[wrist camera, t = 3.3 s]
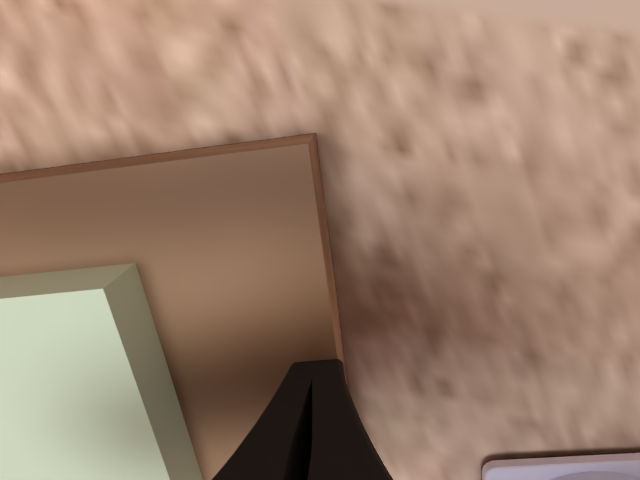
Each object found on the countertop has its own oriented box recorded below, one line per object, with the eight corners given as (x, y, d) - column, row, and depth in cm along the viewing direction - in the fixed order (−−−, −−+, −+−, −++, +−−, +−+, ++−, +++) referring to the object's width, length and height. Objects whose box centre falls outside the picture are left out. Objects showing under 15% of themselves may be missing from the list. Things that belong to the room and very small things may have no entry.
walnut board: (361, 487, 17) (365, 566, 14) (60, 502, 18) (9, 576, 15) (315, 133, 12) (307, 143, 9) (-95, 186, 13) (-214, 210, 10)
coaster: (203, 482, 13) (186, 528, 12) (-16, 493, 14) (-56, 538, 12) (135, 262, 10) (103, 288, 9) (-132, 290, 11) (-201, 318, 10)
